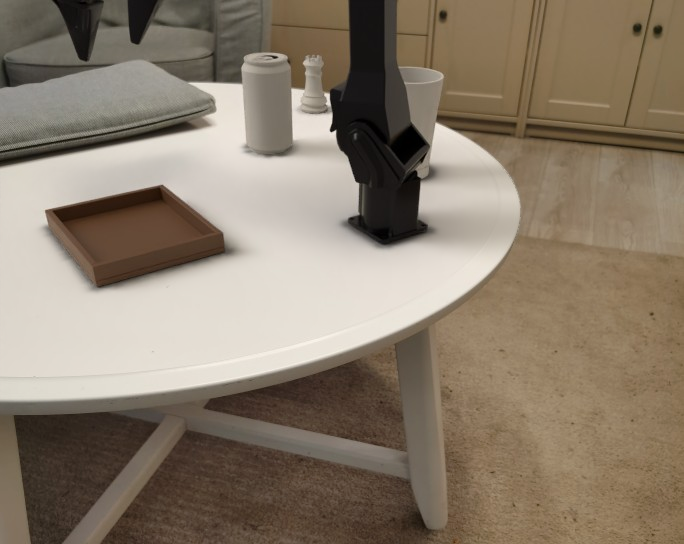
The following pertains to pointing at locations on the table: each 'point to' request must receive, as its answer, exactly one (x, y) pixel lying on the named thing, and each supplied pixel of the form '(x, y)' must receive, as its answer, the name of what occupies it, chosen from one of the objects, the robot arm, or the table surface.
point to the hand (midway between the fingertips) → (110, 51)
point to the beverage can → (267, 102)
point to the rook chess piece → (313, 86)
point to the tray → (133, 233)
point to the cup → (423, 104)
